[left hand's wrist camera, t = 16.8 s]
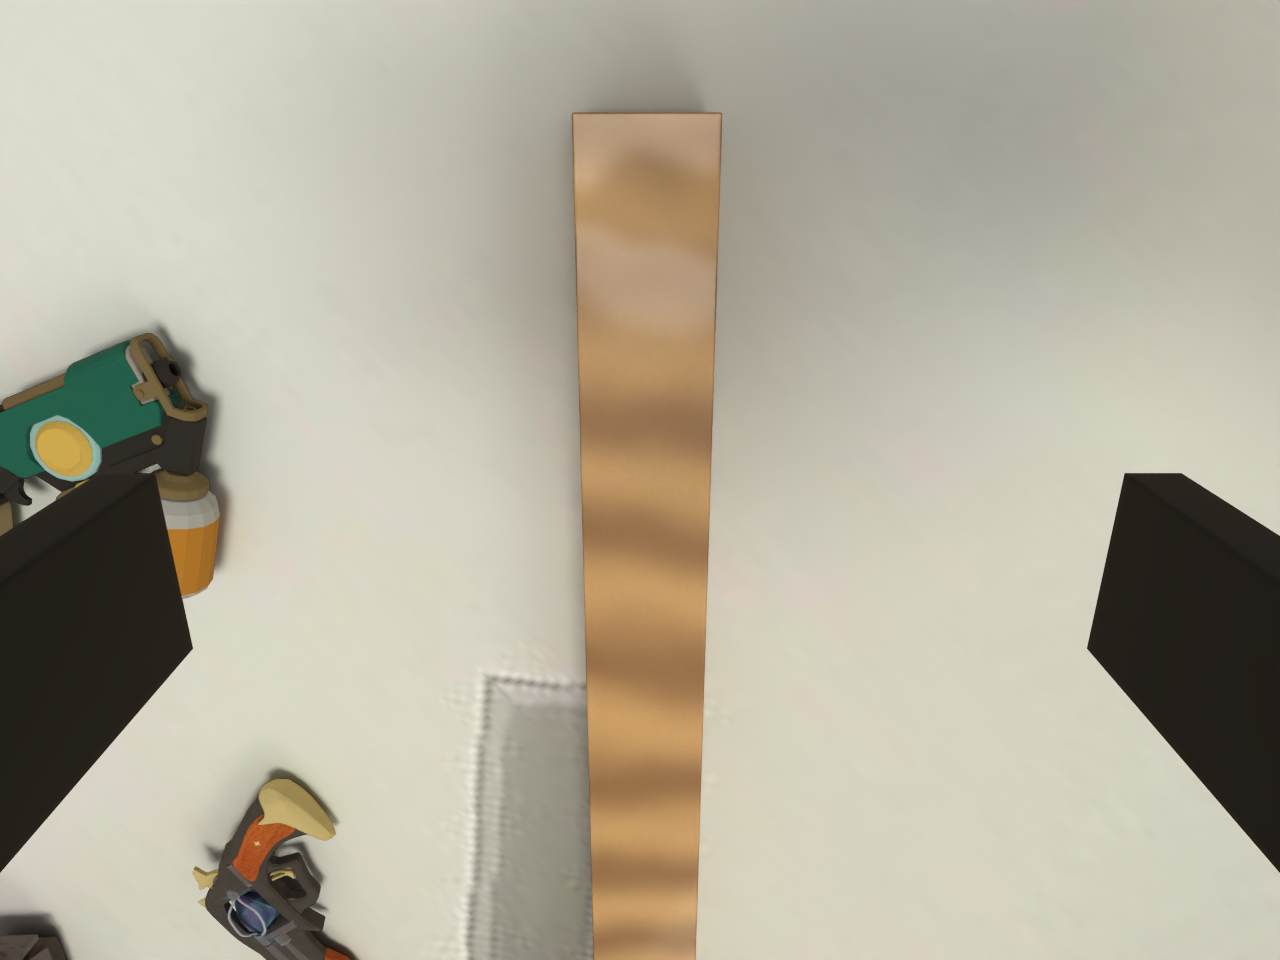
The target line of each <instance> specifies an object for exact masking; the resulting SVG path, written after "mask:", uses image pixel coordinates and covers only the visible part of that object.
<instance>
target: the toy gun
mask: <svg viewBox="0 0 1280 960" xmlns="http://www.w3.org/2000/svg"><path fill="white" fill-rule="evenodd" d="M335 834H336V832H335V829H334V825H333V823H332V822H331V820H330V819H329V817H328V816H327V815H326V813H325V812H324V811H323V809H322V808H321V807H320V806H319V805H318V803H317V802H316V801H315V800H314V798H313V797H312V796H311V795H310V794H309V793H307V792H306V791H305V790H304V789H303V788H301V787H300V786H299V785H297V784H296V783H294V782H292V781H291V780H288V779H275V780H272V781H270V782H268V783H267V784H265V785H263V786H262V788H261V790H260V793H259V797H258V798H257V799H256V800H255V802H254V803H253V804H252V805H251V807H250V808H249V810H248V811H247V812H246V814H245V816H244V818H243V820H242V821H241V824H240V826H239V828H238V830H237V832H236V835H235V836H234V838H233V839H232V840H231V841H229V842H228V843H227V844H226V846H225V849H224V851H223V856H222V858H221V861H220V864H219V870H213V871H211V872H205V871H203V870H201V869H200V868H198V867H196V866H195V868H194V870H193V875H194V877H195V879H196V880H197V881H198V883H199V888H200V890H202V889H204V888H205V887H209V888H210V889H209V891H208V893H207V896H206V898H204V899H202V900H200V901H198V903H200V904H201V905H203V906H204V907H205V908H206V909H207V910H208V912H209V913H210V914H211V915H212V916H213V917H214V918H215V919H216V920H217V921H218V922H219V923H220V924H221V925H222V926H223V927H225V928H226V929H227V930H228V931H229V932H230V933H231V934H232V935H233V936H234V937H236V938H237V939H238V940H239V941H241V942H242V943H244V944H245V945H247V946H248V947H250V948H251V949H253V950H254V951H256V952H258V953H259V954H261V955H262V956H263V957H264V958H265V959H266V960H350V959H349V958H348V957H347V956H345V955H343V954H341V953H338V952H336V951H334V950H332V949H330V948H325V947H324V946H323V945H322V944H321V943H320V942H319V941H318V940H317V939H316V938H315V937H314V936H313V935H312V934H311V932H310V931H322V930H323V925H324V921H325V916H323V915H322V914H320V913H318V912H316V911H314V910H312V909H311V908H309V906H311V905H313V904H314V903H315V902H316V901H317V899H318V897H319V893H320V889H321V887H320V885H319V883H318V882H317V881H316V880H315V879H314V878H313V877H312V875H311V874H310V872H309V871H308V869H307V867H306V865H305V862H304V860H303V857H302V855H301V854H300V853H294V854H291V855H288V856H282V857H275V856H273V855H272V854H273V853H274V851H275V850H276V849H277V848H278V847H279V846H280V845H281V844H282V843H283V842H285V841H287V840H290V839H292V838H295V837H298V836H302V835H310V836H313V837H315V838H317V839H320V840H323V841H327V840H329V839H331V838H332V837H333V836H334V835H335ZM286 867H290V868H292V869H279V868H286ZM276 869H278V870H276ZM277 873H279V874H277ZM275 874H277V875H275ZM286 875H287V876H290V877H291V878H293V879H294V878H295V875H296V877H297V880H298V882H299V883H300V885H301V886H302V888H303V889H304V890H303V891H291V890H290V889H289V888H288V887H287V886H286V885H285V884H284V883H283V882H282V881H281V880H280V879H279V878H280V877H283V876H286ZM252 889H254V890H255V891H256V892H251V891H250V890H252ZM229 901H232V904H231V905H230V903H229ZM234 903H235V908H236V911H235V910H234V909H233V906H234Z"/></svg>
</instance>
